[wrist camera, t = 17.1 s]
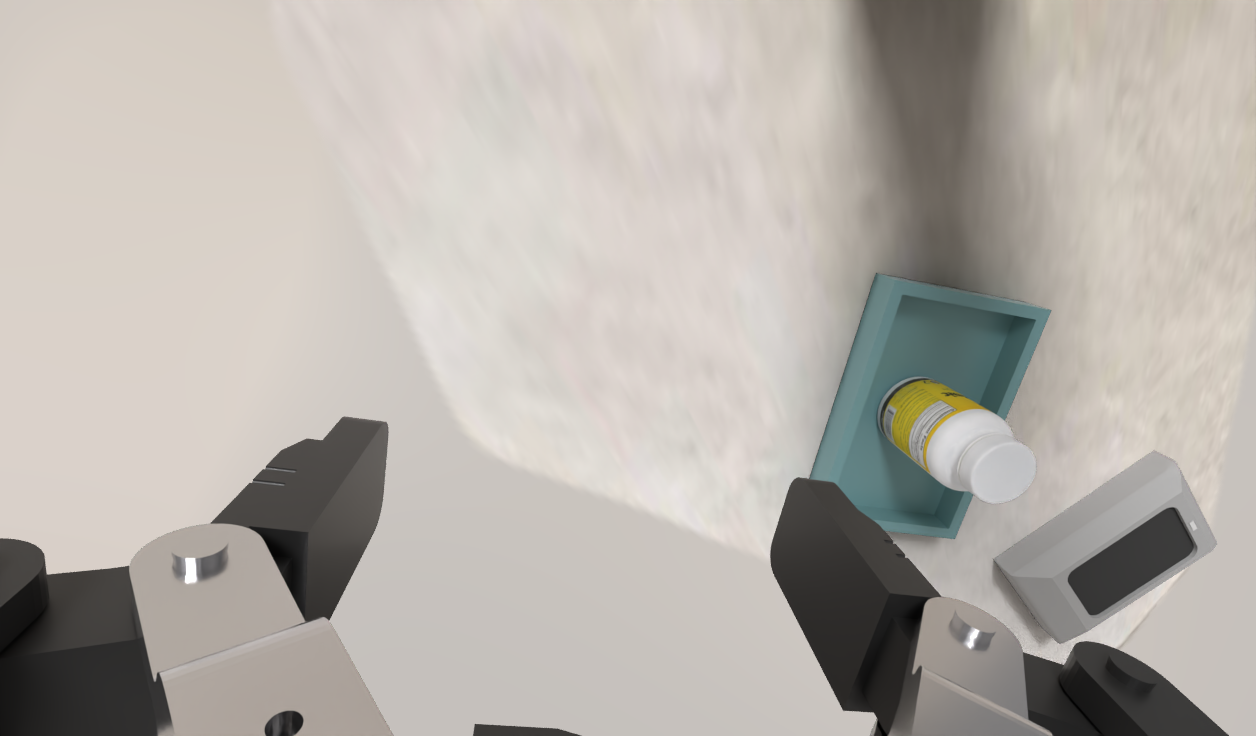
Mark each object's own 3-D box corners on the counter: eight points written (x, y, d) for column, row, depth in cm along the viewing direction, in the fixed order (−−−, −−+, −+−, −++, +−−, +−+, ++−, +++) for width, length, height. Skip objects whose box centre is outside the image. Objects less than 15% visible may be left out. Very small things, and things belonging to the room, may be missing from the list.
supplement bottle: (960, 404, 44) (1066, 470, 35) (904, 456, 45) (993, 532, 36) (916, 358, 42) (1016, 414, 33) (859, 412, 43) (940, 481, 34)
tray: (876, 273, 40) (895, 279, 38) (1024, 301, 42) (1051, 310, 40) (801, 503, 46) (813, 522, 44) (935, 520, 48) (954, 539, 45)
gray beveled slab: (1021, 585, 47) (1194, 470, 45) (990, 556, 50) (1149, 447, 48) (1070, 654, 50) (1234, 549, 48) (1036, 622, 53) (1188, 523, 51)
